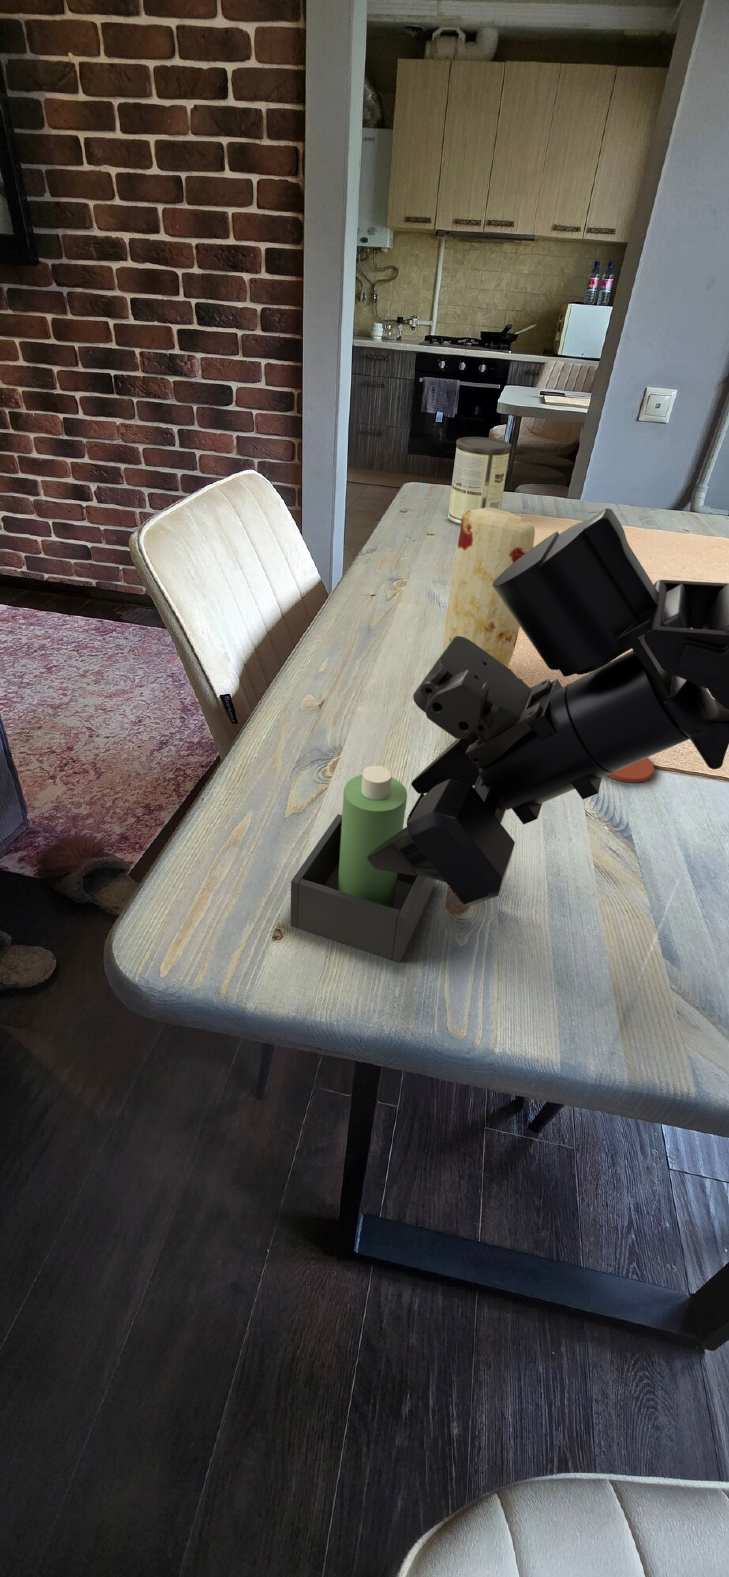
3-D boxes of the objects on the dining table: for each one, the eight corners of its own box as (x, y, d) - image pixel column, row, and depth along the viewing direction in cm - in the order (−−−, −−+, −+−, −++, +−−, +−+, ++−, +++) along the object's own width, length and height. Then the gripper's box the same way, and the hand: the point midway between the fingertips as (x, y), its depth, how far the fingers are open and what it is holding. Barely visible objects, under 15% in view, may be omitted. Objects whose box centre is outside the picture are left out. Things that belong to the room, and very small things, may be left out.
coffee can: (455, 508, 151) (465, 434, 143) (504, 517, 149) (517, 441, 140) (440, 521, 144) (449, 442, 135) (491, 530, 141) (504, 451, 133)
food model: (426, 670, 91) (447, 503, 80) (459, 655, 96) (484, 494, 84) (490, 700, 86) (523, 527, 74) (522, 682, 90) (558, 516, 79)
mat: (658, 762, 78) (660, 758, 77) (644, 789, 73) (645, 785, 73) (603, 744, 80) (604, 740, 80) (586, 769, 76) (587, 765, 75)
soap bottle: (403, 900, 58) (420, 770, 51) (374, 934, 55) (388, 801, 48) (356, 877, 60) (366, 748, 52) (325, 909, 57) (332, 777, 49)
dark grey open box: (433, 888, 60) (441, 843, 57) (399, 965, 53) (405, 918, 50) (335, 858, 62) (337, 813, 59) (290, 927, 55) (290, 881, 53)
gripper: (543, 563, 48) (372, 676, 57) (472, 685, 33) (258, 809, 43) (633, 698, 50) (455, 785, 60) (602, 864, 36) (374, 945, 45)
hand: (394, 822), depth 52 cm, fingers open, 9 cm apart
